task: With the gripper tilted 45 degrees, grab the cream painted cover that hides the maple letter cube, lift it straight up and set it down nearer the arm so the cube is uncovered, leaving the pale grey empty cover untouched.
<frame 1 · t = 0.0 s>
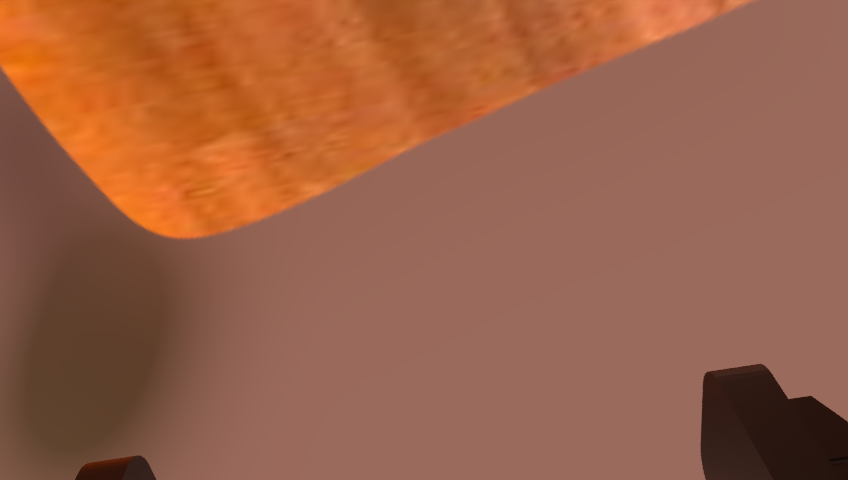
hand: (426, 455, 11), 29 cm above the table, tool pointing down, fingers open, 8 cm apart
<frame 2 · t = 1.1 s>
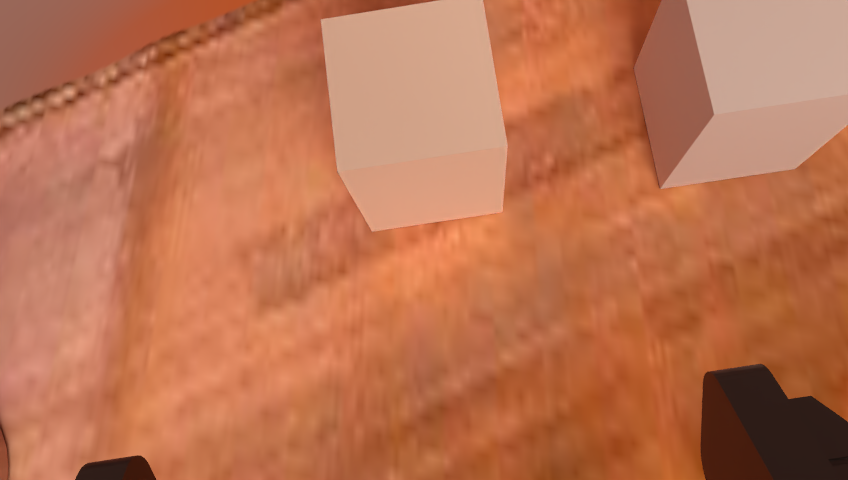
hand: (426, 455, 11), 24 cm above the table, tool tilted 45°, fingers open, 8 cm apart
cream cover: (428, 160, 38), on the table
grey cover: (712, 117, 37), on the table
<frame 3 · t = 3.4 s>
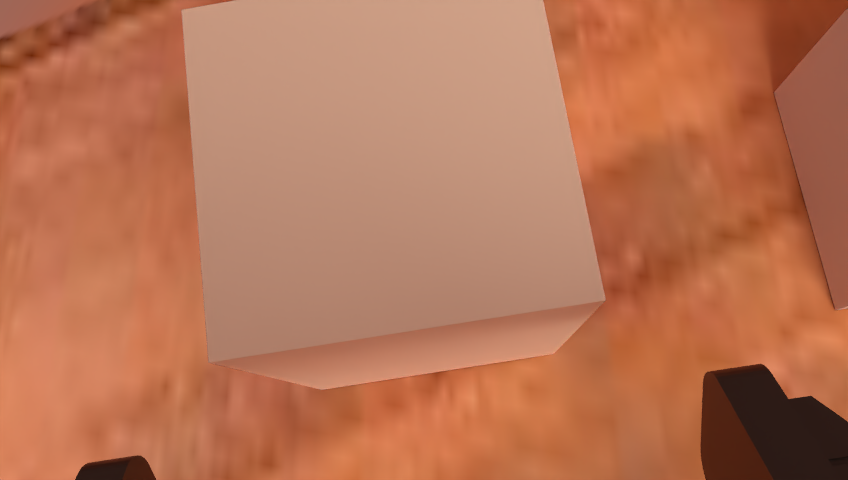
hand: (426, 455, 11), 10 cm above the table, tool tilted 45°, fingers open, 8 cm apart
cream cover: (420, 258, 22), on the table
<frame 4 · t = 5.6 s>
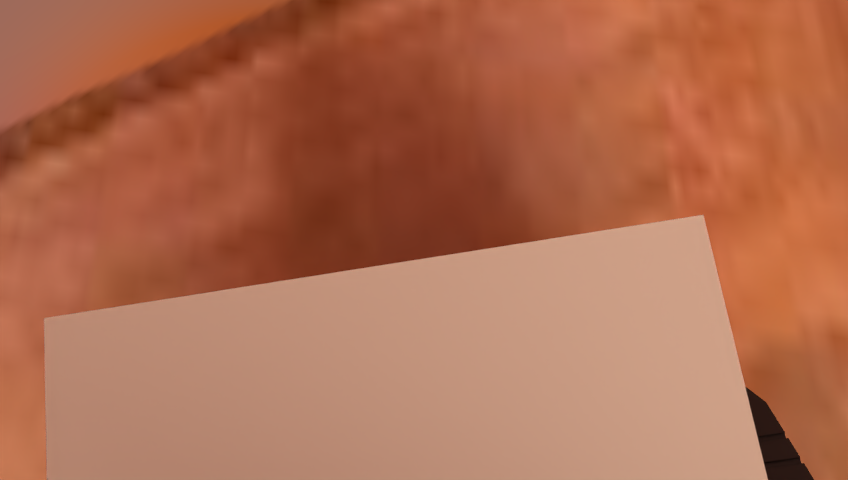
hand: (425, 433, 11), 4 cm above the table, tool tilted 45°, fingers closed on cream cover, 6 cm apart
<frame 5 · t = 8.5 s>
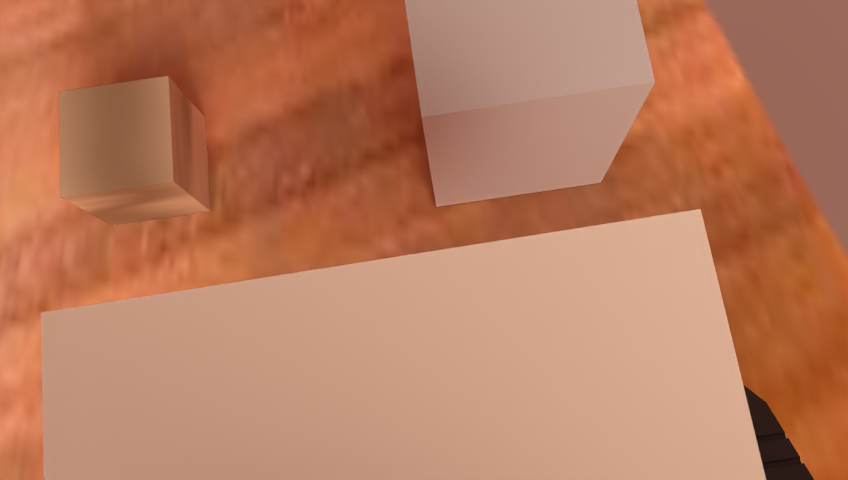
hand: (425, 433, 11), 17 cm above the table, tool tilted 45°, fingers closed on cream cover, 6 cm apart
grey cover: (505, 118, 30), on the table
letter cube: (138, 153, 29), on the table
when the fingers open (5 cm above the table, at t = 11.5 s): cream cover stays where it is, on the table.
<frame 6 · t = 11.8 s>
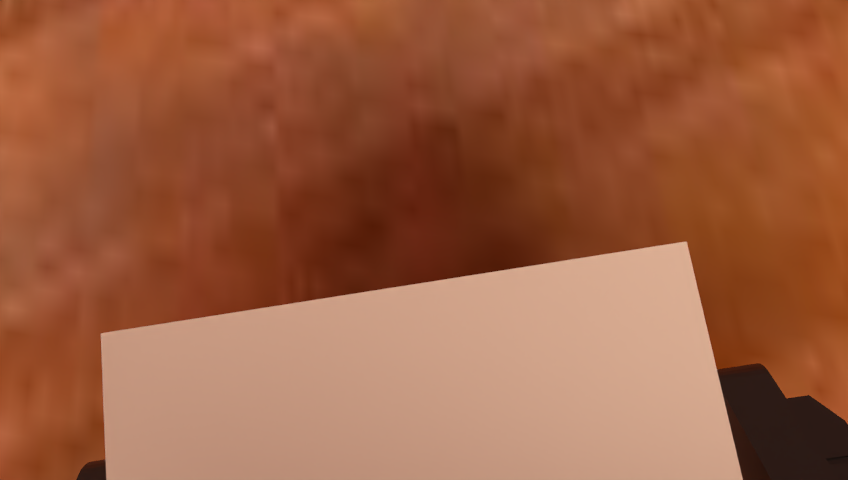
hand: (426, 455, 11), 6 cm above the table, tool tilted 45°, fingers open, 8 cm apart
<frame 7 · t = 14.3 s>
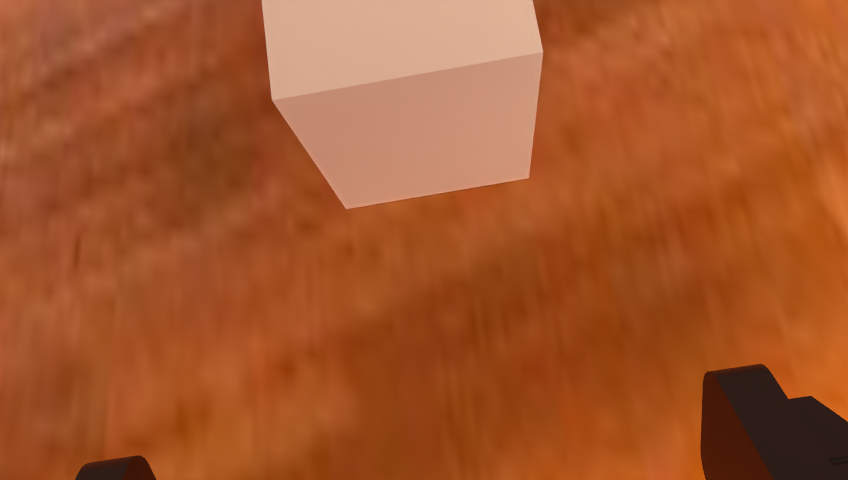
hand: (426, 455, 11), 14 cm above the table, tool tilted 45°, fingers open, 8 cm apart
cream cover: (423, 109, 27), on the table
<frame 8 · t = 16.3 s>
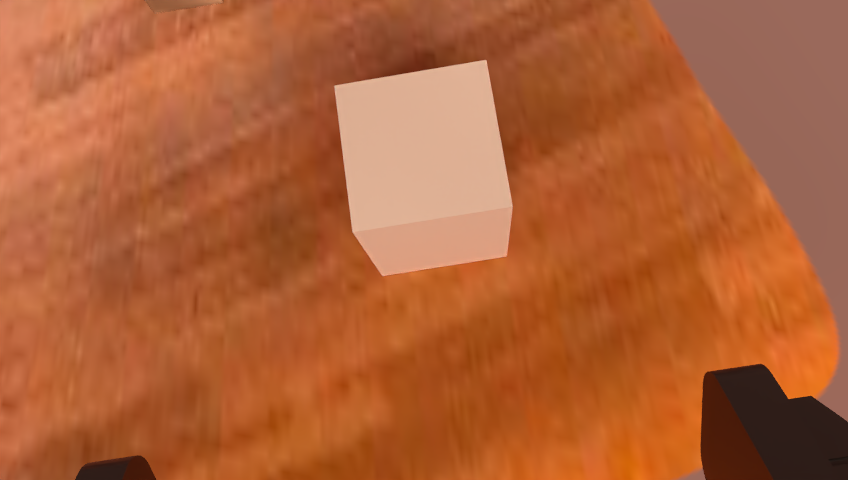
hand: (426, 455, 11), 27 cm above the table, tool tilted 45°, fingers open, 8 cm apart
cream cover: (435, 206, 40), on the table
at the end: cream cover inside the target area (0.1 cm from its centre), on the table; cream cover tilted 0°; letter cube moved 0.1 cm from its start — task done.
